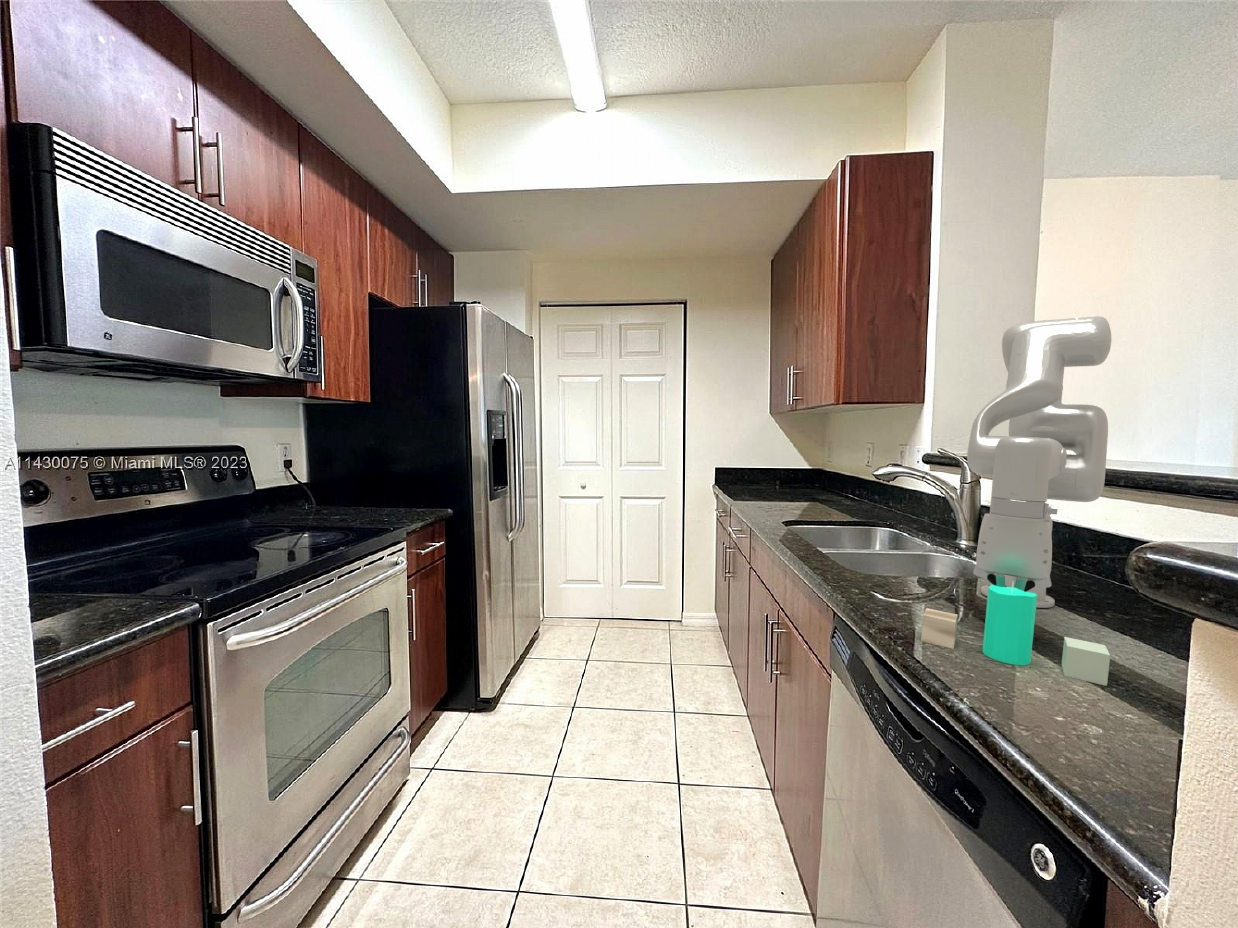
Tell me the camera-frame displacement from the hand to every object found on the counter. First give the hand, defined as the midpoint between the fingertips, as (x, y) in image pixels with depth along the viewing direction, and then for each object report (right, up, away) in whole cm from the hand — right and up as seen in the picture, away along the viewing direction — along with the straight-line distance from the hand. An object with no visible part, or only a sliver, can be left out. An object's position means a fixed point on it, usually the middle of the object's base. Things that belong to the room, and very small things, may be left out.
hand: (1007, 614), depth 89 cm
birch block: (-14, -3, -3) cm, 15 cm away
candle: (-7, -4, -9) cm, 12 cm away
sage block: (0, -5, -14) cm, 15 cm away
